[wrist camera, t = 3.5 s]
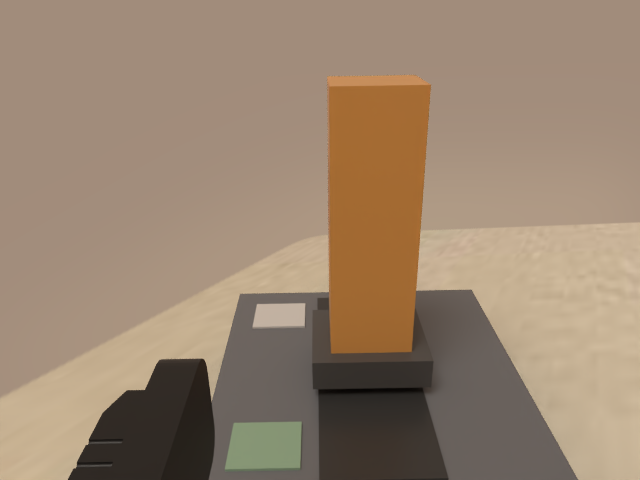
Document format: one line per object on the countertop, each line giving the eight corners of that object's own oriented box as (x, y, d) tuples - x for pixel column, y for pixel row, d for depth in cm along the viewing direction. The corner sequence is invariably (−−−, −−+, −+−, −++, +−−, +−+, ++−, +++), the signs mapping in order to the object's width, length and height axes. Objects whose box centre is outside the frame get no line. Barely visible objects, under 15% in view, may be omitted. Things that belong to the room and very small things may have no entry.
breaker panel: (465, 336, 28) (471, 288, 26) (570, 561, 16) (588, 495, 15) (244, 340, 28) (240, 292, 26) (196, 568, 16) (184, 502, 15)
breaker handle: (413, 331, 22) (432, 73, 18) (430, 387, 19) (459, 86, 15) (313, 333, 22) (306, 75, 18) (312, 389, 19) (305, 89, 15)
